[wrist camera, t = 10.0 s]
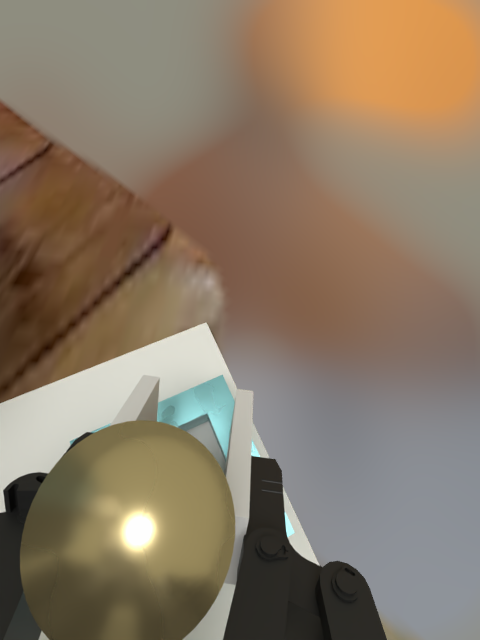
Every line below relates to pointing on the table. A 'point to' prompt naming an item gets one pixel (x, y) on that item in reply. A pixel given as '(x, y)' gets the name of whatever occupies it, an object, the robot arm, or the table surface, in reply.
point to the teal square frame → (204, 415)
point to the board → (101, 409)
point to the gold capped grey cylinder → (128, 536)
